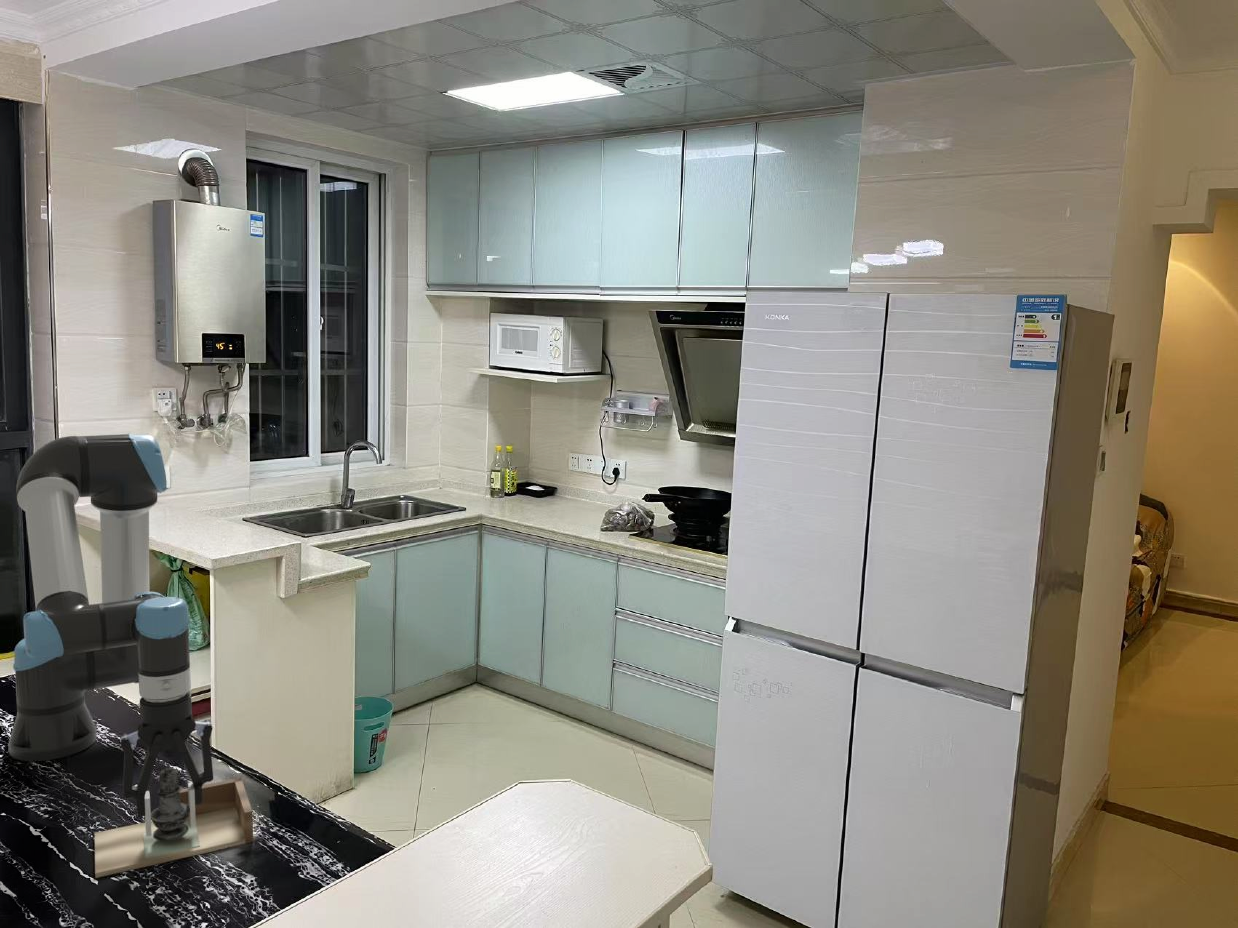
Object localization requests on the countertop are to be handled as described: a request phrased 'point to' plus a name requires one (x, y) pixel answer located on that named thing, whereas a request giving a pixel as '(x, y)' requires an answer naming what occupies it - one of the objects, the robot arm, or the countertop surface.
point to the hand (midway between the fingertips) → (170, 827)
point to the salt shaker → (169, 808)
